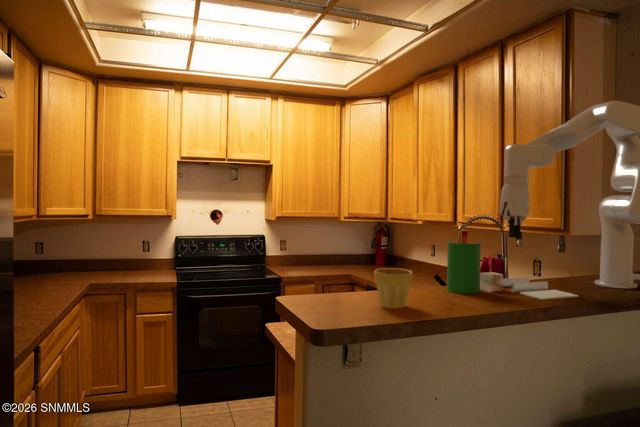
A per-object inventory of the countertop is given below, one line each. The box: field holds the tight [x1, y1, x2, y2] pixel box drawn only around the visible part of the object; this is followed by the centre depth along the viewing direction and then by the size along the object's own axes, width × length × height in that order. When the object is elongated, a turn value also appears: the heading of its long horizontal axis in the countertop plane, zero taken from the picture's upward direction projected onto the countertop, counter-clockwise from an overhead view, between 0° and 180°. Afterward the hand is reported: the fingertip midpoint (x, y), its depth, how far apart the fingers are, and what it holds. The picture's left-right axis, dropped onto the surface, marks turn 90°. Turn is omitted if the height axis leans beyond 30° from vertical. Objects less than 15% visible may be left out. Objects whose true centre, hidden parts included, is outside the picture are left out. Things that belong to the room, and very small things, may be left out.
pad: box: [519, 289, 579, 301], centre depth 144 cm, size 14×9×1 cm, turn 109°
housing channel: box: [503, 276, 549, 293], centre depth 155 cm, size 14×9×2 cm
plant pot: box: [373, 267, 414, 310], centre depth 127 cm, size 10×10×10 cm
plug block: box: [480, 271, 504, 293], centre depth 151 cm, size 5×5×6 cm
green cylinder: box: [446, 229, 482, 295], centre depth 149 cm, size 10×9×20 cm
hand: (514, 237), depth 154 cm, fingers closed
